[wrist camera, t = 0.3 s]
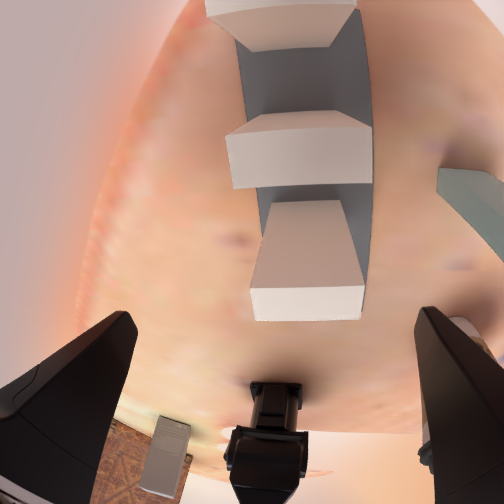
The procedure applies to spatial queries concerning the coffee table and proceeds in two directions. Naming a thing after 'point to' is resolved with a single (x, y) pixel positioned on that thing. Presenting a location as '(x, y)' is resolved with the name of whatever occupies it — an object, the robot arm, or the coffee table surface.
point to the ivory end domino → (281, 21)
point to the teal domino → (476, 202)
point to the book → (128, 469)
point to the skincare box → (165, 458)
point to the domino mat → (316, 99)
